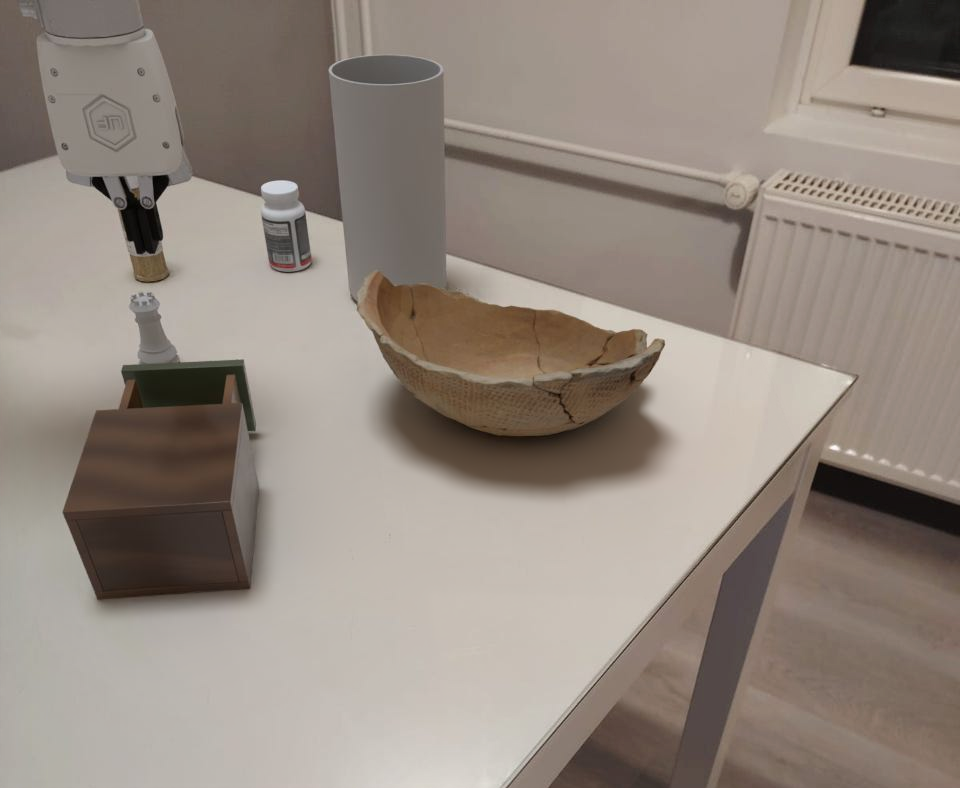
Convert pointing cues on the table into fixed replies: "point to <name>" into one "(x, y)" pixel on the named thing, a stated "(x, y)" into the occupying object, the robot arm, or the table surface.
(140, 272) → the sprinkles bottle
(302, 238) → the pill bottle
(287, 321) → the table surface
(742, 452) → the table surface
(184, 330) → the table surface
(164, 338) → the rook chess piece
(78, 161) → the robot arm
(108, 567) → the cabinet
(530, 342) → the ceramic bowl
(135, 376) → the drawer
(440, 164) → the cylinder vase
